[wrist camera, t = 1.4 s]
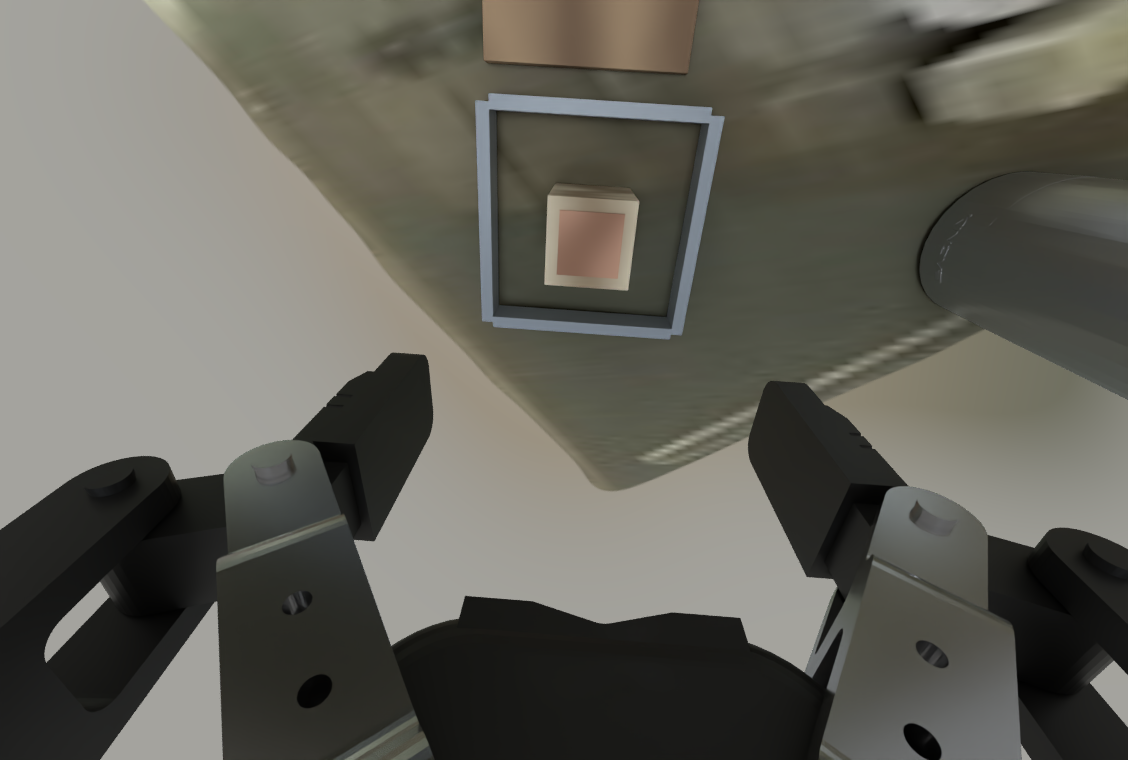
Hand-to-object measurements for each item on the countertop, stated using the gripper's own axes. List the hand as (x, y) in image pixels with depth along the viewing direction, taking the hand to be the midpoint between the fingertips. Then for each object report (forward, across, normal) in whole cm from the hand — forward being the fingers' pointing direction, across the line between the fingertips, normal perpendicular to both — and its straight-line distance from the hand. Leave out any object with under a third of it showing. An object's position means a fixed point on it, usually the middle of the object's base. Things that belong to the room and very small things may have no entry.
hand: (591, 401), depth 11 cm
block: (+24, 0, 0) cm, 24 cm away
